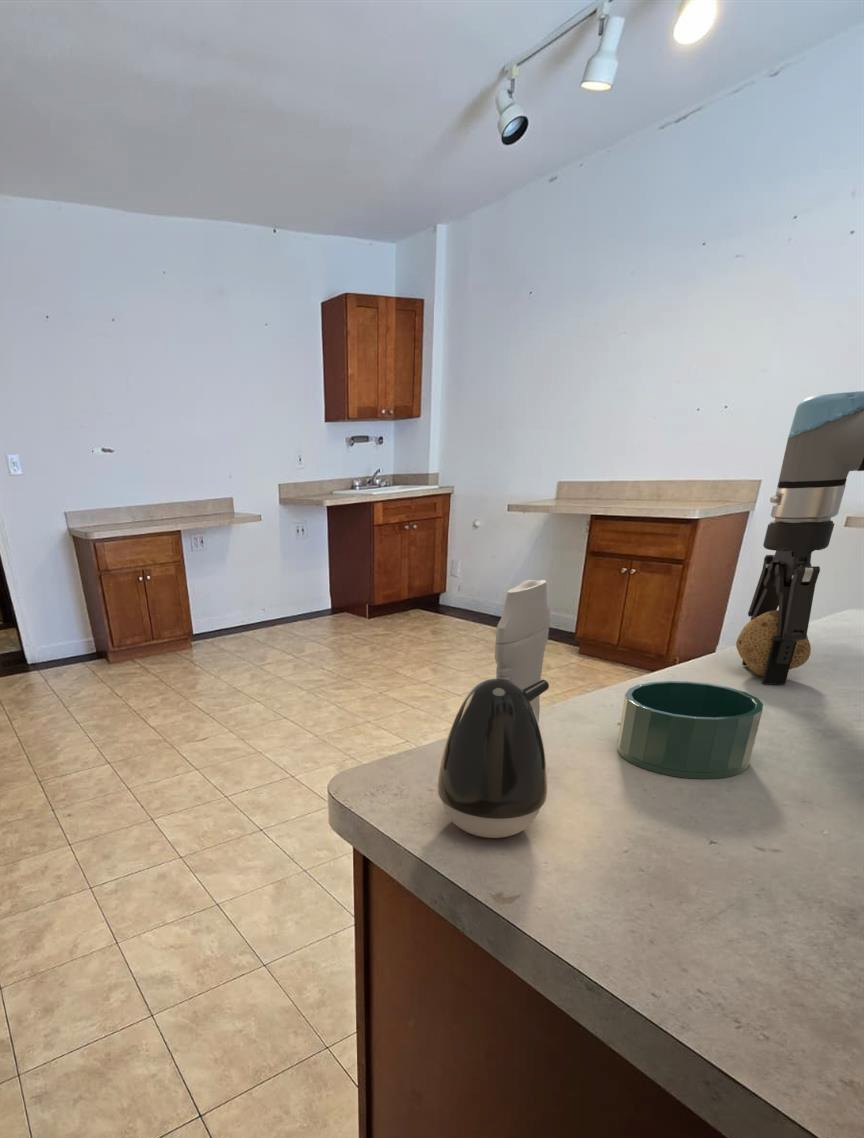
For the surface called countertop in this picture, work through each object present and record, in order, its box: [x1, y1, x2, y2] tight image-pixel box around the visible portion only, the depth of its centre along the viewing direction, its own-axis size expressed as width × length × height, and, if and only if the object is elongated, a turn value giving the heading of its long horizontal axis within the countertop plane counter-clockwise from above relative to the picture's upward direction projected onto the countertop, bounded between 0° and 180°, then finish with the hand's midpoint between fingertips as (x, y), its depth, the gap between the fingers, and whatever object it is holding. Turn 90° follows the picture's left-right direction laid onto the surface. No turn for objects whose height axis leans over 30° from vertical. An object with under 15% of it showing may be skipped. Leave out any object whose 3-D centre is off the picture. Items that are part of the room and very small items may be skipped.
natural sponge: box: [735, 609, 812, 677], centre depth 97 cm, size 9×9×10 cm
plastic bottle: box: [494, 579, 551, 725], centre depth 69 cm, size 11×4×22 cm, turn 135°
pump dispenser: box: [437, 677, 550, 839], centre depth 61 cm, size 10×10×15 cm
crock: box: [616, 680, 764, 780], centre depth 74 cm, size 13×13×7 cm
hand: (762, 673), depth 99 cm, fingers open, 9 cm apart
